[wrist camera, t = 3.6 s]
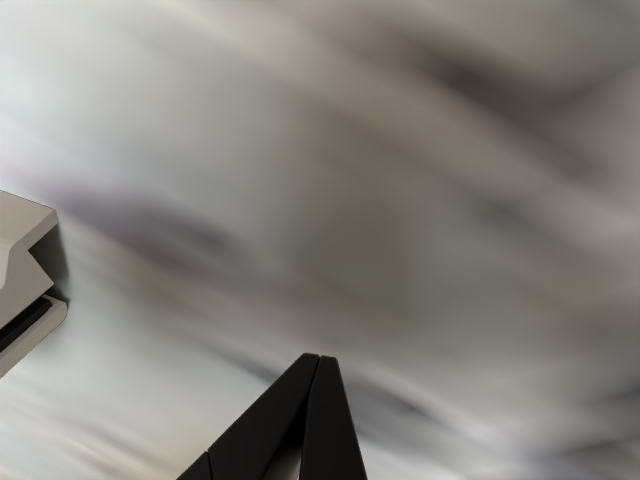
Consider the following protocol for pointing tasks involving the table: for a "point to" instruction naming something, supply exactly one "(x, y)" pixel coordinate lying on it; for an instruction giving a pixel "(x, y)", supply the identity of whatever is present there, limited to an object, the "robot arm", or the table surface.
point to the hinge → (24, 280)
